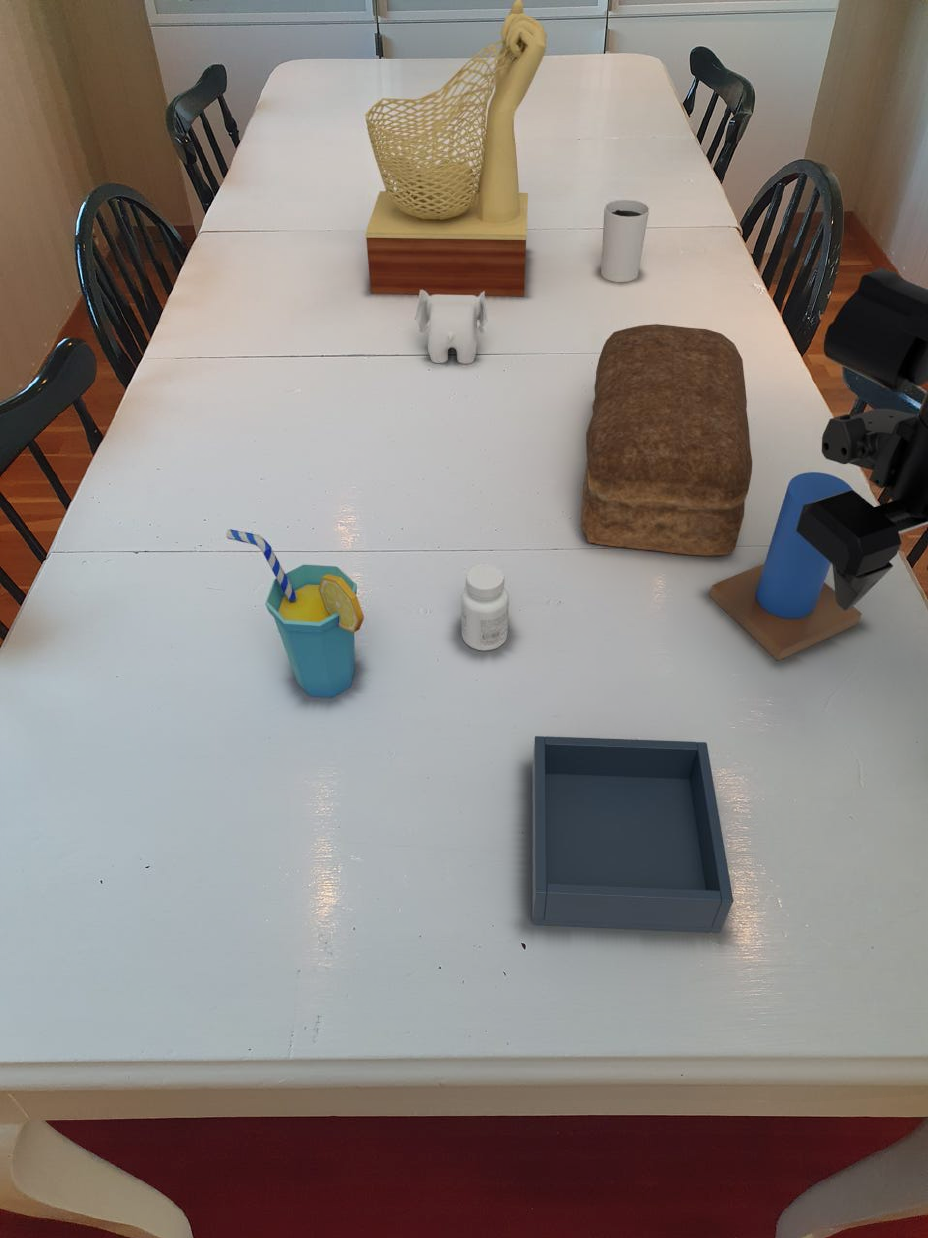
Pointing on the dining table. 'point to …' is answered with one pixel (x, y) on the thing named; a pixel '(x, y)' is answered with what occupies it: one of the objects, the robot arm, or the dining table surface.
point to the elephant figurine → (451, 324)
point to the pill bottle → (484, 608)
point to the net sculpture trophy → (456, 182)
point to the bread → (667, 442)
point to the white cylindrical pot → (623, 239)
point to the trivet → (776, 631)
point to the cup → (313, 620)
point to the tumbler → (796, 551)
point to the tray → (627, 836)
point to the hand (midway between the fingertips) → (888, 589)
